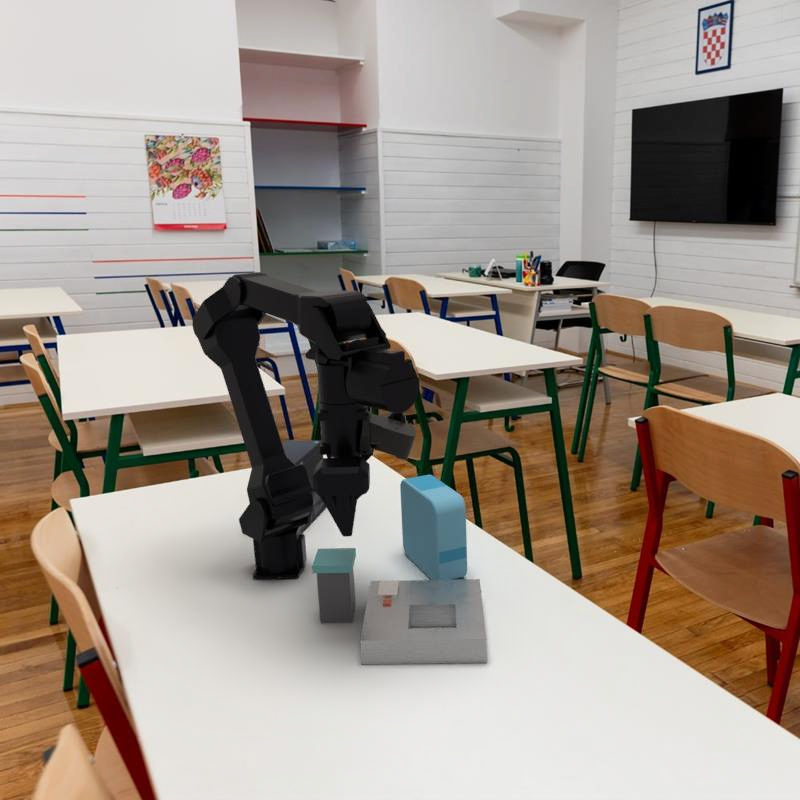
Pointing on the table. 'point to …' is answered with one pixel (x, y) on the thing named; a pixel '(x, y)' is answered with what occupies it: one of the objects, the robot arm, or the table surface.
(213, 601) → the table surface
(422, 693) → the table surface
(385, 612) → the faceplate
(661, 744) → the table surface
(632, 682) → the table surface
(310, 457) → the small box
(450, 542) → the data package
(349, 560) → the plug
